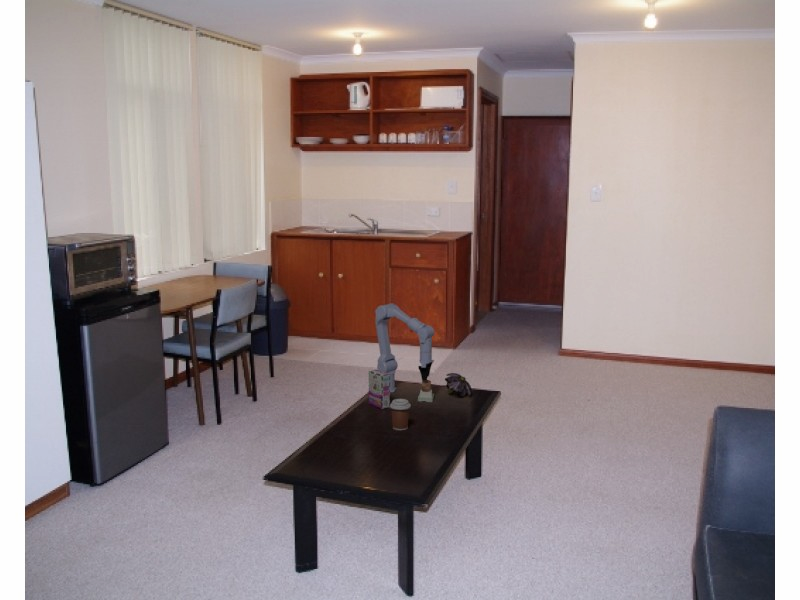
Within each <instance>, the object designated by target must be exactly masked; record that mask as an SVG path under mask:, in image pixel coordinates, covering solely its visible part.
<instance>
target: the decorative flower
mask: <svg viewBox="0 0 800 600" xmlns="http://www.w3.org/2000/svg"><path fill="white" fill-rule="evenodd" d="M445 376H446V377H445V378H444V381H445V382H446V384H445V386H446V388H447V389H448V390H447V391H446V392H447V393H448V395H449V394H450V395H453V394H457V395H459V396H460V398H461V399H463V398H464V397H465V396H466V394H467V393H468V398H470V397H472V395H473V391H472V387H471V386H472V385H470V383H469V381H468V380H467V379H466V377H465V376H462V375H461V374H460V373H456V372H452V373H451V372H450V373H447V374H445Z"/></svg>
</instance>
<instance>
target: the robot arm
mask: <svg viewBox="0 0 800 600" xmlns="http://www.w3.org/2000/svg"><path fill="white" fill-rule="evenodd" d="M374 312H375V320H374V321H375V322H374V323H375V328H376V336H377V342H378V346H379V348H378V349H379V354H380V355H379V357H378V358H377V365H376V370H379V371H382V372H385V373H388V374H390V393H395V391H396V390H397V386H396V385H395V381H396V380H395V378H396V377H395V376H396V374H395V373H396V370H397V369H398V366H399V365H398V362H397V360H396V356H395V355H394V354H393V353H392V349H391V343H390V342H391V341H390V337H389V331H388V324H387V323H388V322H389V321H390V319H391V318H397V319H398V320H400V321H401V322H403V323H404V324H406V325H407V329H409V330H411V331H413V333H415V334H416V335H417V337H418V339H419V363H420V365H418V366H417V367H418V370H419V373H420V376H421V382H422V381H427V380H428V377H430V372H431V368H432V365H433V364H434V362H435V360H434V359H432V355H433V353H432V352H433V351H432V350H433V343H432V342H433V337H434V335H435V329H434V328H433V326H431V325H430V324H429V325H426V323H423V322H422V321H420V320H419V318H417V317H410V316H409V315H408V314H407V313H405V312H404V311H402V309H400V308H399V306H398V305H396V304H395V303H393V302H392V303H388V304H384V305H379V306H378V307H377V308H376V309H375V311H374ZM395 386H396V387H395Z"/></svg>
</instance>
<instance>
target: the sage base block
mask: <svg viewBox="0 0 800 600" xmlns="http://www.w3.org/2000/svg"><path fill="white" fill-rule="evenodd" d="M434 398H435V393H432V398H431V397H420V393H419V395H418V396H417V402H422V401H426V402H427V403H433V400H434Z"/></svg>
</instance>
